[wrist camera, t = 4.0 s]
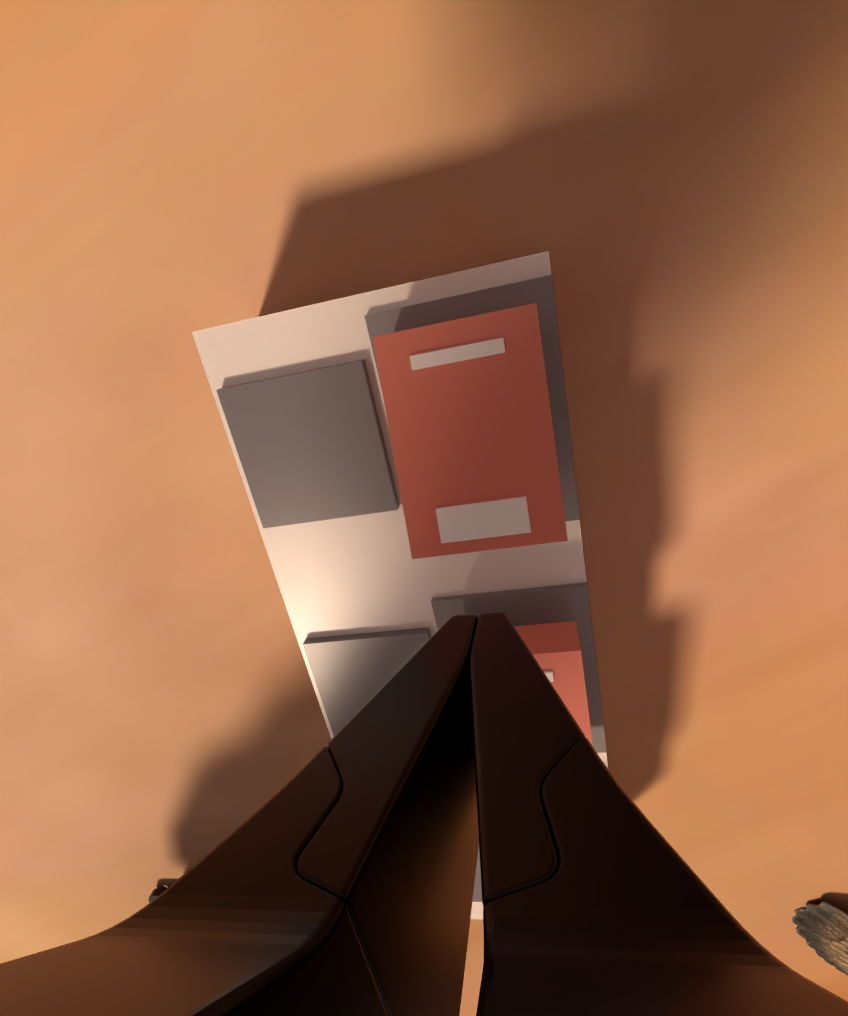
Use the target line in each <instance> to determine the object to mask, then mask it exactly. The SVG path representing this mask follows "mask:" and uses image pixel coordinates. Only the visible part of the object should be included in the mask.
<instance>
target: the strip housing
mask: <svg viewBox="0 0 848 1016" xmlns="http://www.w3.org/2000/svg"><path fill="white" fill-rule="evenodd" d="M533 303H536V304H537V311H538V319H539V326H540V334H541V341H542V349H543V357H544V364H545V372H546V379H547V387H548V394H549V402H550V410H551V417H552V425H553V432H554V440H555V447H556V455H557V462H558V470H559V478H560V485H561V493H562V500H563V508H564V515H565V523H566V531H567V538H568V541H563V542H554V543H546V544H537V545H529V546H520V547H512V548H503V549H495V550H486V551H478V552H469V553H461V554H452V555H444V556H435V557H427V558H418V559H412V556H411V550H410V545H409V539H408V533H407V528H406V522H405V517H404V511H403V505H402V500H401V494H400V489H399V483H398V478H397V472H396V466H395V461H394V455H393V450H392V444H391V438H390V433H389V427H388V422H387V416H386V411H385V405H384V399H383V394H382V388H381V383H380V377H379V371H378V366H377V360H376V355H375V349H374V344H373V338H372V337H375V336H380V335H384V334H389V333H394V332H399V331H404V330H408V329H413V328H418V327H423V326H428V325H432V324H437V323H442V322H447V321H451V320H456V319H461V318H466V317H471V316H475V315H480V314H485V313H490V312H495V311H499V310H504V309H509V308H514V307H519V306H523V305H528V304H533ZM192 334H193V337H194V340H195V343H196V346H197V349H198V351H199V354H200V357H201V360H202V363H203V366H204V369H205V372H206V375H207V378H208V381H209V384H210V386H211V389H212V392H213V395H214V398H215V401H216V404H217V407H218V410H219V413H220V416H221V419H222V422H223V424H224V427H225V430H226V433H227V436H228V439H229V442H230V445H231V448H232V451H233V454H234V457H235V459H236V462H237V465H238V468H239V471H240V474H241V477H242V480H243V483H244V486H245V489H246V492H247V494H248V497H249V500H250V503H251V506H252V509H253V512H254V515H255V518H256V521H257V524H258V527H259V529H260V532H261V535H262V538H263V541H264V544H265V547H266V550H267V553H268V556H269V559H270V562H271V565H272V567H273V570H274V573H275V576H276V579H277V582H278V585H279V588H280V591H281V594H282V597H283V600H284V602H285V605H286V608H287V611H288V614H289V617H290V620H291V623H292V626H293V629H294V632H295V635H296V637H297V640H298V643H299V646H300V649H301V652H302V655H303V658H304V661H305V664H306V667H307V670H308V672H309V675H310V678H311V681H312V684H313V687H314V690H315V693H316V696H317V699H318V702H319V705H320V708H321V710H322V713H323V716H324V719H325V722H326V725H327V728H328V731H329V734H330V737H331V739H332V738H333V737H334V736H335V735H336V734H337V733H338V732H339V731H340V730H341V729H342V728H343V727H344V726H345V725H346V724H347V723H348V722H349V721H350V720H351V719H352V718H353V717H354V716H355V715H356V714H357V713H358V712H359V711H360V710H361V709H362V708H363V707H364V706H365V705H366V704H367V703H368V702H369V700H370V699H371V698H372V697H373V696H374V695H375V694H376V693H377V692H378V691H379V690H380V689H381V688H382V687H383V686H384V685H385V684H386V683H387V682H388V681H389V680H390V679H391V678H392V677H393V676H394V675H395V674H396V673H397V672H398V671H399V670H400V669H401V668H402V667H403V666H404V665H405V664H406V663H407V662H408V661H409V660H410V659H411V658H412V656H413V655H414V654H415V653H416V652H417V651H418V650H419V649H420V648H421V647H422V646H423V645H424V644H425V643H426V642H427V641H428V640H429V639H430V638H431V637H432V636H433V635H434V634H435V633H436V632H437V631H438V630H439V629H440V628H441V627H442V626H443V625H444V624H445V623H446V622H447V621H448V620H449V619H450V618H451V617H452V616H454V615H464V614H476V615H477V616H479V615H480V614H481V613H487V612H498V611H502V612H504V613H505V614H506V615H507V616H508V618H509V619H510V621H511V623H512V624H513V626H523V625H535V624H546V623H558V622H569V621H576V624H577V630H578V636H579V642H580V647H581V654H582V662H583V670H584V678H585V686H586V694H587V703H588V711H589V719H590V727H591V735H592V743H593V747H594V749H595V751H596V752H597V754H598V755H599V757H600V758H601V760H602V761H603V762H604V764H605V765H606V767H607V768H608V762H607V754H606V752H607V750H606V742H605V733H604V724H603V715H602V707H601V698H600V689H599V681H598V672H597V663H596V655H595V646H594V637H593V628H592V620H591V611H590V602H589V594H588V585H587V580H586V571H585V563H584V554H583V545H582V537H581V528H580V515H579V506H578V498H577V489H576V480H575V472H574V463H573V454H572V445H571V437H570V428H569V419H568V411H567V402H566V393H565V384H564V376H563V367H562V358H561V350H560V341H559V332H558V323H557V315H556V306H555V297H554V289H553V280H552V275H551V267H550V259H549V251H546V252H541V253H537V254H532V255H528V256H524V257H519V258H515V259H510V260H506V261H502V262H497V263H493V264H488V265H484V266H480V267H475V268H471V269H466V270H462V271H458V272H453V273H449V274H444V275H440V276H436V277H431V278H427V279H422V280H418V281H414V282H409V283H405V284H400V285H396V286H392V287H387V288H383V289H378V290H374V291H370V292H365V293H361V294H356V295H352V296H348V297H343V298H339V299H334V300H330V301H326V302H321V303H317V304H312V305H308V306H304V307H299V308H295V309H290V310H286V311H282V312H277V313H273V314H268V315H264V316H260V317H255V318H251V319H246V320H242V321H238V322H233V323H229V324H224V325H220V326H216V327H211V328H207V329H202V330H198V331H194V332H192ZM470 919H483V904H482V887H481V869H480V851H479V849H478V857H477V866H476V875H475V883H474V892H473V901H472V909H471V918H470Z"/></svg>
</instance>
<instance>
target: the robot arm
mask: <svg viewBox="0 0 848 1016" xmlns="http://www.w3.org/2000/svg"><path fill="white" fill-rule="evenodd" d="M478 849H479V851H480V869H481V887H482V904H483V924H484V965H483V973H482V980H481V987H480V993H479V1000H478V1007H477V1014H476V1016H848V1002H847V1001H845V1000H844V999H842V998H840V997H838V996H837V995H835V994H833V993H831V992H830V991H828V990H826V989H824V988H823V987H821V986H819V985H817V984H816V983H814V982H812V981H810V980H808V979H807V978H805V977H803V976H802V975H800V974H798V973H797V972H795V971H794V970H792V969H791V968H789V967H788V966H787V965H785V964H784V963H783V962H781V961H780V960H779V959H777V958H776V957H775V956H774V955H772V954H771V953H770V952H769V951H768V950H767V949H765V948H764V947H763V946H762V945H761V944H760V943H759V942H757V941H756V940H755V939H754V938H753V937H752V936H751V935H750V934H749V933H748V932H747V931H746V930H745V929H744V928H743V927H742V925H741V924H740V923H739V922H738V921H737V920H736V919H735V918H734V917H733V916H732V915H731V913H730V912H729V911H728V910H727V909H726V908H725V907H724V906H723V905H722V903H721V902H720V901H719V900H718V899H717V898H716V897H715V895H714V894H713V893H712V892H711V891H710V890H709V889H708V887H707V886H706V885H705V884H704V883H703V882H702V881H701V879H700V878H699V877H698V876H697V875H696V874H695V873H694V871H693V870H692V869H691V868H690V867H689V866H688V865H687V863H686V862H685V861H684V860H683V859H682V858H681V857H680V856H679V854H678V853H677V852H676V851H675V850H674V849H673V848H672V846H671V845H670V844H669V843H668V842H667V841H666V840H665V838H664V837H663V836H662V835H661V834H660V833H659V832H658V830H657V829H656V828H655V827H654V826H653V825H652V824H651V822H650V821H649V820H648V819H647V818H646V817H645V815H644V814H643V813H642V812H641V811H640V809H639V808H638V807H637V806H636V804H635V803H634V802H633V801H632V800H631V798H630V797H629V796H628V795H627V794H626V792H625V791H624V790H623V789H622V787H621V786H620V785H619V783H618V782H617V781H616V779H615V778H614V776H613V775H612V774H611V772H610V771H609V769H608V768H607V767H606V765H605V764H604V762H603V761H602V760H601V758H600V757H599V755H598V754H597V752H596V751H595V749H594V747H593V746H592V744H591V743H590V741H589V740H588V739H587V738H585V734H584V733H583V731H582V730H581V728H580V727H579V725H578V724H577V722H576V720H575V719H574V717H573V716H572V714H571V713H570V711H569V710H568V708H567V707H566V705H565V704H564V702H563V701H562V699H561V697H560V696H559V694H558V693H557V691H556V690H555V688H554V687H553V685H552V684H551V682H550V681H549V679H548V678H547V676H546V675H545V673H544V671H543V670H542V668H541V667H540V665H539V664H538V662H537V661H536V659H535V658H534V656H533V655H532V653H531V652H530V650H529V649H528V647H527V645H526V644H525V642H524V641H523V639H522V638H521V636H520V635H519V633H518V632H517V630H516V629H515V627H514V626H513V624H512V623H511V621H510V619H509V618H508V616H507V615H506V614H505V613H504V612H502V611H498V612H487V613H481V614H480V615H479V616H477V615H476V614H464V615H454V616H452V617H451V618H450V619H449V620H448V621H447V622H446V623H445V624H444V625H443V626H442V627H441V628H440V629H439V630H438V631H437V632H436V633H435V634H434V635H433V636H432V637H431V638H430V639H429V640H428V641H427V642H426V643H425V644H424V645H423V646H422V647H421V648H420V649H419V650H418V651H417V652H416V653H415V654H414V655H413V656H412V658H411V659H410V660H409V661H408V662H407V663H406V664H405V665H404V666H403V667H402V668H401V669H400V670H399V671H398V672H397V673H396V674H395V675H394V676H393V677H392V678H391V679H390V680H389V681H388V682H387V683H386V684H385V685H384V686H383V687H382V688H381V689H380V690H379V691H378V692H377V693H376V694H375V695H374V696H373V697H372V698H371V699H370V700H369V702H368V703H367V704H366V705H365V706H364V707H363V708H362V709H361V710H360V711H359V712H358V713H357V714H356V715H355V716H354V717H353V718H352V719H351V720H350V721H349V722H348V723H347V724H346V725H345V726H344V727H343V728H342V729H341V730H340V731H339V732H338V733H337V734H336V735H335V736H334V737H333V738H332V739H331V740H330V741H329V742H328V747H323V748H322V749H321V750H320V751H319V752H318V753H317V754H316V755H315V756H314V758H313V759H312V760H311V761H310V762H309V763H308V764H307V765H306V766H305V767H304V768H303V769H302V770H300V771H299V772H298V773H297V774H296V775H295V776H294V777H293V778H292V779H291V780H290V781H289V782H288V783H287V784H286V785H285V786H284V787H283V788H282V789H281V790H280V791H279V792H278V793H277V794H276V795H274V796H273V797H272V798H271V799H270V800H269V801H268V802H267V803H266V804H264V805H263V806H262V807H261V808H260V809H259V810H258V811H257V812H255V813H254V814H253V815H252V816H251V817H250V818H249V819H248V820H247V821H245V822H244V823H243V824H242V825H241V826H240V827H238V828H237V829H236V830H235V831H234V832H233V833H231V834H230V835H229V836H228V837H227V838H226V839H224V840H223V841H222V842H221V843H220V844H219V845H217V846H216V847H215V848H214V849H213V850H212V851H211V852H209V853H208V854H207V855H206V856H205V857H204V858H202V859H201V860H200V861H199V862H198V863H197V864H195V865H194V866H193V867H192V868H191V869H190V870H188V871H187V872H186V873H185V874H184V875H183V876H181V877H180V878H179V879H178V880H177V881H176V882H174V883H173V884H172V885H171V886H170V887H169V888H157V889H154V890H153V892H152V893H151V895H150V897H149V902H150V903H149V904H148V905H147V906H145V907H144V908H143V909H141V910H140V911H138V912H137V913H135V914H134V915H132V916H131V917H129V918H128V919H126V920H124V921H122V922H120V923H119V924H117V925H115V926H113V927H111V928H109V929H107V930H105V931H102V932H100V933H98V934H96V935H93V936H90V937H88V938H85V939H82V940H79V941H75V942H72V943H69V944H65V945H62V946H59V947H55V948H52V949H48V950H45V951H42V952H38V953H35V954H32V955H28V956H25V957H22V958H18V959H15V960H11V961H8V962H5V963H1V964H0V1016H459V1013H460V1004H461V996H462V987H463V979H464V970H465V961H466V953H467V944H468V935H469V927H470V918H471V909H472V901H473V892H474V883H475V875H476V866H477V857H478Z"/></svg>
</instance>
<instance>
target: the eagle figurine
mask: <svg viewBox="0 0 848 1016" xmlns="http://www.w3.org/2000/svg"><path fill="white" fill-rule="evenodd" d="M795 914H796V916H794V917H792V921H793V923H795V924H796V925H797V926H798V927H799V928H796V931H797V933H798V934H799V935H801V936H802V937H803V938H805V939H807V940H809V941H806V942H807V944H808V945H809V946H810V947H811V948H814V949H816V950H815V951H816V953H817V954H818V955H819V956H820V957H822V958H824V960H825V961H826V962H828V963H829V964H831V965H833V966H835V967H836V969H837V970H839V971H841V972H843V973H845V974H847V975H848V915H847V914H846V913H844V912H843V911H842V910H840V909H839V908H836V907H835V906H833V905H831V904H830V903H828V902H826V901H822V902H821V903H820V905H818V904H813V903H808V904H807V905H806V909H805V908H798V909H796V910H795Z"/></svg>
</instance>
